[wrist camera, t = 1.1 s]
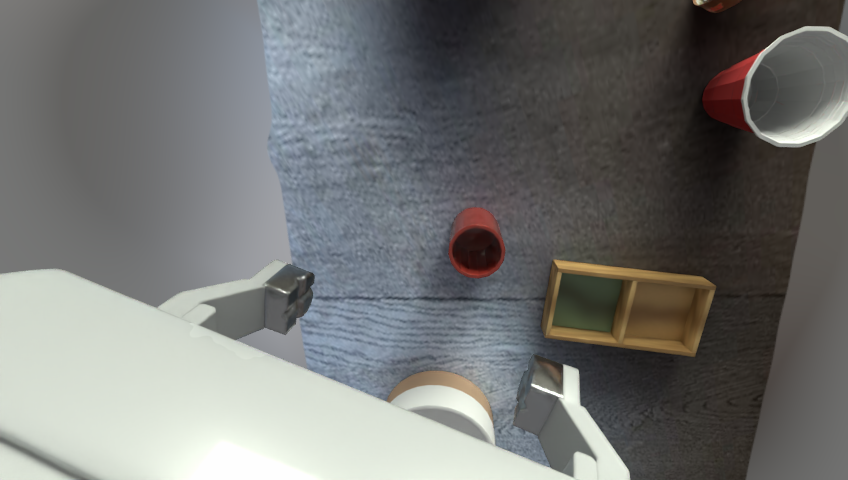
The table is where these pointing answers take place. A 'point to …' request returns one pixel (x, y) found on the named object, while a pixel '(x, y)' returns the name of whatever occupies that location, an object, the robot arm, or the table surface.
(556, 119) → the table surface
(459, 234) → the cup
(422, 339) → the table surface
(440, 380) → the bowl
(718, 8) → the tin
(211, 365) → the robot arm
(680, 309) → the caddy
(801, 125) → the plastic cup
